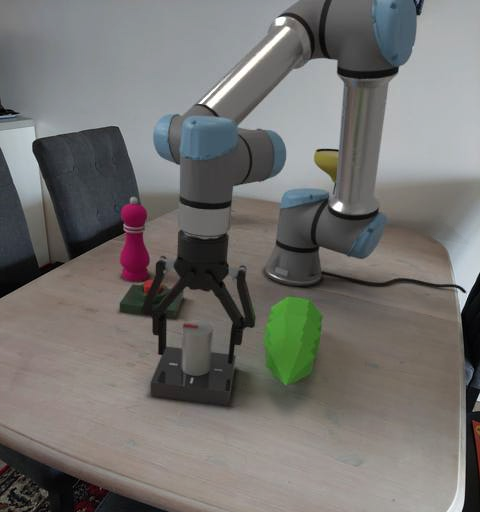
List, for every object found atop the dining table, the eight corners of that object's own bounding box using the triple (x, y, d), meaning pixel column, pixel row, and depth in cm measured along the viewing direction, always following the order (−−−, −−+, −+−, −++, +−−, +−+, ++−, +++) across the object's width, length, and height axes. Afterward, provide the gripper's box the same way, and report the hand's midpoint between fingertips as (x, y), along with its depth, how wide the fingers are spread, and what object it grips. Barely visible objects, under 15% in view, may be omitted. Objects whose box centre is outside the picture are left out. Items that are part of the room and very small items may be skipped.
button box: (183, 298, 110) (183, 283, 108) (174, 319, 101) (175, 302, 99) (132, 292, 110) (132, 277, 108) (119, 312, 101) (119, 295, 99)
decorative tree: (317, 278, 97) (312, 349, 70) (328, 327, 101) (328, 411, 74) (264, 289, 100) (240, 361, 73) (277, 336, 104) (259, 420, 77)
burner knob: (212, 361, 83) (215, 320, 79) (207, 377, 79) (211, 335, 75) (184, 357, 83) (185, 316, 79) (178, 373, 79) (180, 331, 75)
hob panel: (234, 368, 87) (236, 354, 85) (228, 406, 77) (229, 391, 76) (165, 359, 87) (165, 345, 86) (150, 396, 78) (150, 380, 76)
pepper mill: (143, 284, 114) (142, 203, 105) (115, 279, 115) (112, 198, 106) (153, 273, 121) (154, 195, 111) (127, 268, 122) (125, 191, 112)
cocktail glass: (304, 213, 183) (315, 146, 171) (350, 219, 181) (365, 152, 169) (303, 227, 167) (315, 154, 155) (354, 234, 166) (370, 161, 153)
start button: (163, 288, 105) (163, 281, 105) (159, 295, 102) (159, 288, 101) (146, 286, 106) (146, 279, 105) (141, 293, 102) (141, 286, 101)
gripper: (283, 232, 72) (265, 351, 83) (132, 214, 73) (134, 335, 83) (283, 249, 65) (264, 376, 76) (117, 229, 66) (121, 358, 77)
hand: (196, 355), depth 80 cm, fingers open, 11 cm apart
